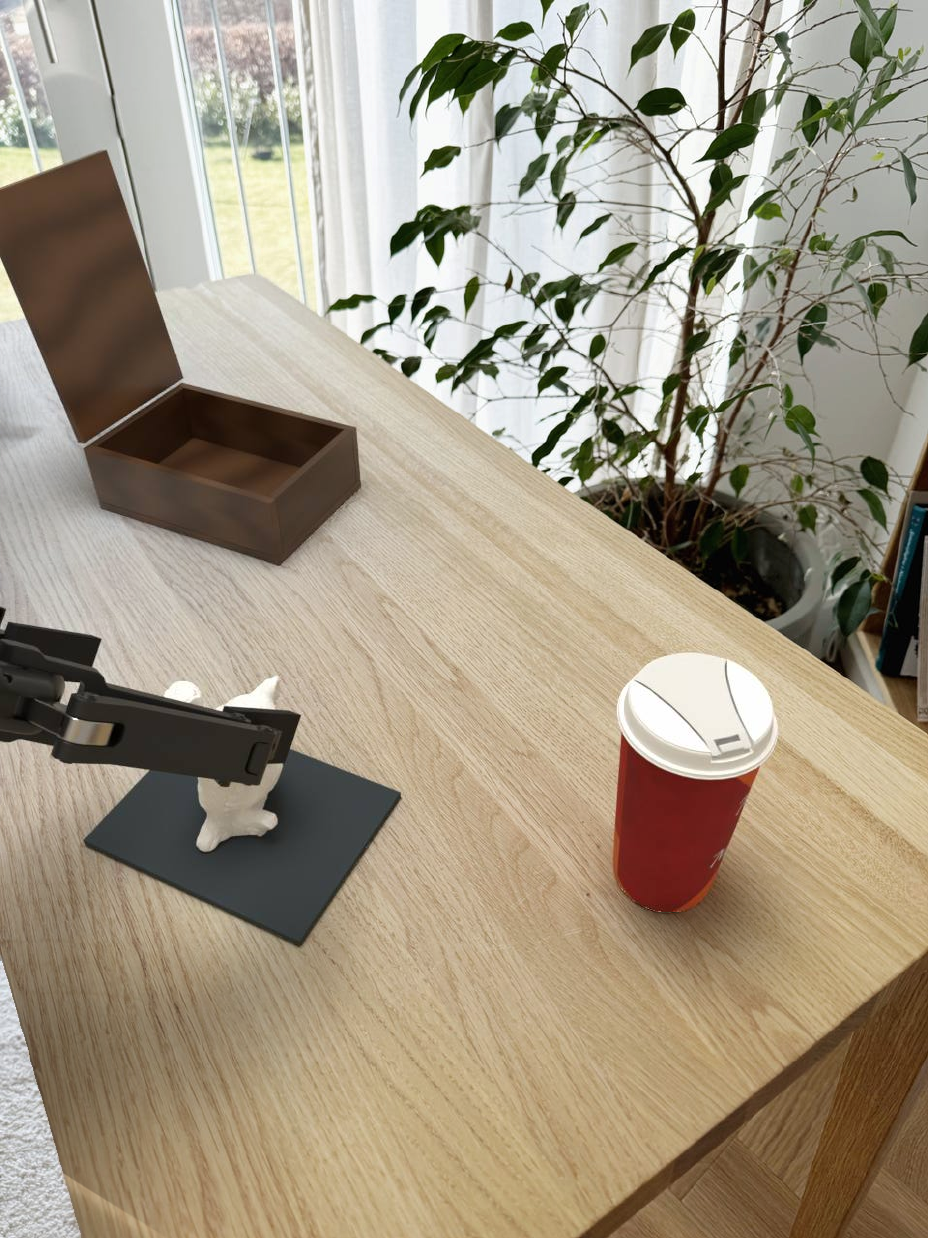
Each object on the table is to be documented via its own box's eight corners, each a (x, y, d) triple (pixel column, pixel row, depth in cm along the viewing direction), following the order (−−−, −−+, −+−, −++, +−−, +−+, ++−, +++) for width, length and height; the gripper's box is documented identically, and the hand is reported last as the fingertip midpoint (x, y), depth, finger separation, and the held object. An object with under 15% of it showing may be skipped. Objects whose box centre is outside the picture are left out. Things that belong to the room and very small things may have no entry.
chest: (361, 486, 92) (356, 427, 87) (279, 565, 82) (269, 503, 78) (193, 439, 98) (181, 382, 94) (100, 508, 89) (82, 448, 85)
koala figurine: (198, 883, 58) (157, 749, 50) (157, 809, 62) (113, 674, 54) (324, 819, 62) (303, 684, 54) (277, 752, 66) (252, 618, 58)
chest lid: (107, 149, 81) (100, 149, 82) (-19, 196, 72) (-26, 197, 72) (184, 378, 93) (177, 377, 94) (84, 443, 84) (78, 443, 85)
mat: (84, 845, 61) (82, 840, 60) (203, 718, 69) (202, 713, 69) (300, 946, 55) (299, 942, 55) (401, 797, 64) (401, 792, 63)
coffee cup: (755, 911, 57) (816, 739, 47) (626, 947, 55) (661, 776, 46) (691, 802, 63) (732, 630, 53) (573, 832, 61) (593, 659, 52)
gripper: (-419, 660, 38) (-5, 690, 58) (75, 909, 30) (356, 843, 50) (-355, 478, 38) (35, 570, 58) (154, 676, 30) (403, 703, 50)
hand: (184, 696), depth 54 cm, fingers open, 13 cm apart
